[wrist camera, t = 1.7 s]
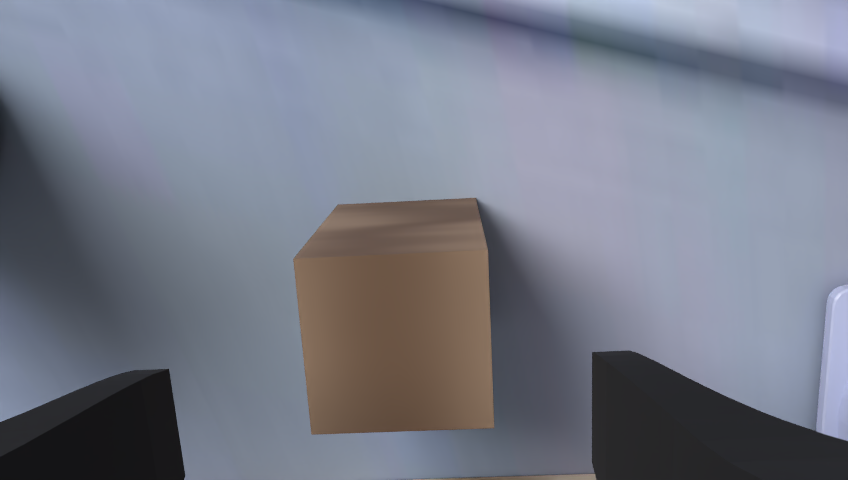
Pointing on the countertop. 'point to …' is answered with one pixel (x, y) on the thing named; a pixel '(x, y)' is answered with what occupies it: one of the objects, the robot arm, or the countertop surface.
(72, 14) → the countertop surface
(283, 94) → the countertop surface
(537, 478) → the socket board
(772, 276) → the countertop surface
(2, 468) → the robot arm
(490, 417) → the walnut plug
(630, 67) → the countertop surface
